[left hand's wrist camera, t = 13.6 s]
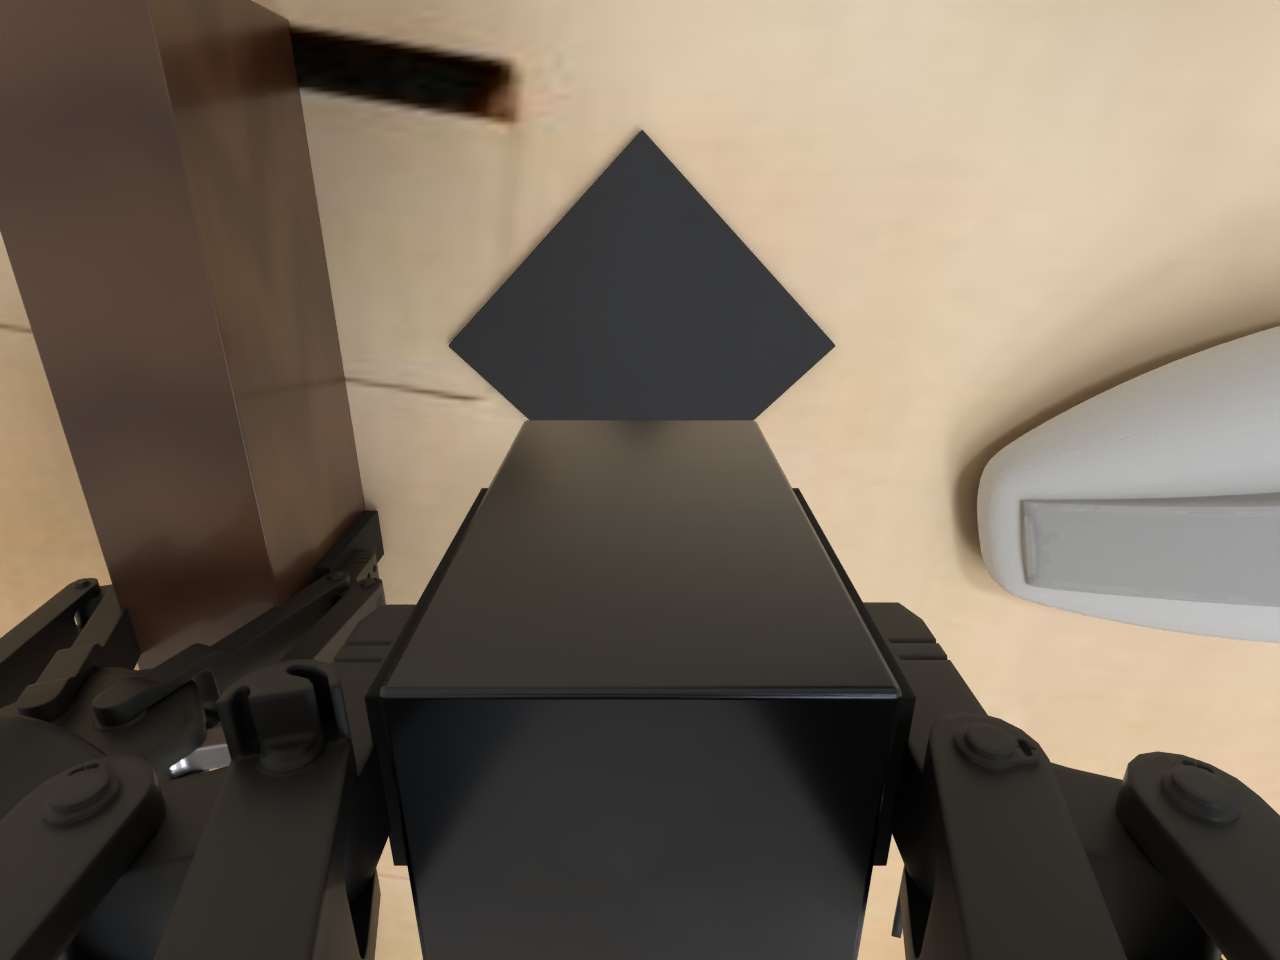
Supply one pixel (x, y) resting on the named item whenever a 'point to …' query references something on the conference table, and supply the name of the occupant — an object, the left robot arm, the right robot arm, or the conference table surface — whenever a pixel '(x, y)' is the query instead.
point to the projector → (1151, 499)
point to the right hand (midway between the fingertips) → (306, 533)
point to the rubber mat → (642, 311)
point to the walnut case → (179, 299)
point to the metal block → (640, 711)
